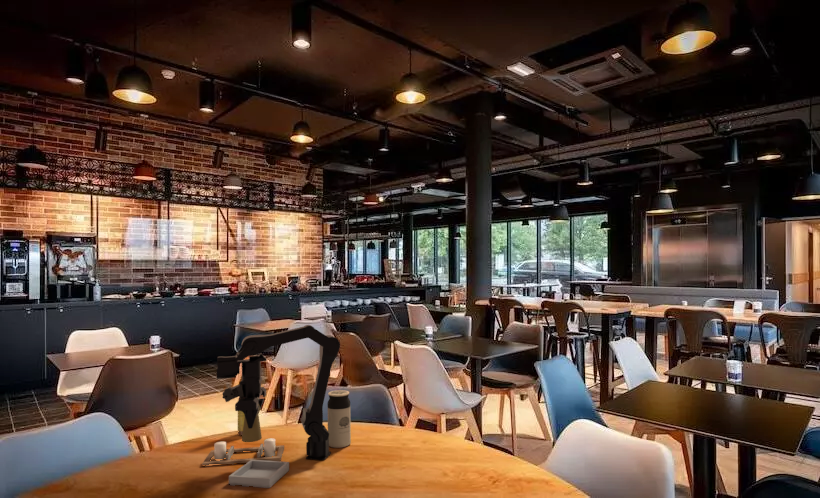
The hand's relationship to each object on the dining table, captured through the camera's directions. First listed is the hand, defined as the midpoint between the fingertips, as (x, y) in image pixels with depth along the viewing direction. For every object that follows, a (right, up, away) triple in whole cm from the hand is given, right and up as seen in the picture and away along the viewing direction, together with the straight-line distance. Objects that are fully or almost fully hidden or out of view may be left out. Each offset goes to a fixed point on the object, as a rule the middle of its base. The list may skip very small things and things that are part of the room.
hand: (251, 426), depth 155 cm
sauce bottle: (-12, -14, +31) cm, 36 cm away
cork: (0, -4, 0) cm, 4 cm away
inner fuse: (+3, -13, +8) cm, 16 cm away
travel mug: (+25, -13, +17) cm, 33 cm away
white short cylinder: (-12, -13, +6) cm, 19 cm away
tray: (+6, -12, -10) cm, 16 cm away
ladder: (-4, -13, +7) cm, 15 cm away
